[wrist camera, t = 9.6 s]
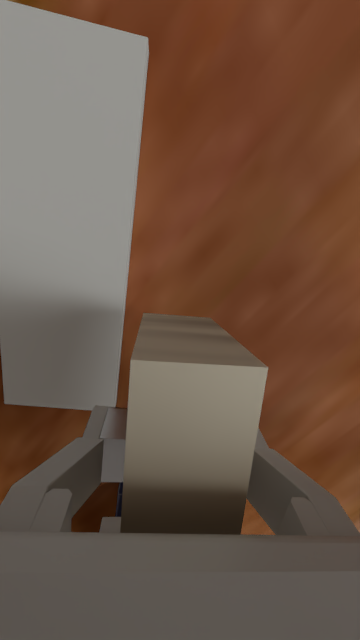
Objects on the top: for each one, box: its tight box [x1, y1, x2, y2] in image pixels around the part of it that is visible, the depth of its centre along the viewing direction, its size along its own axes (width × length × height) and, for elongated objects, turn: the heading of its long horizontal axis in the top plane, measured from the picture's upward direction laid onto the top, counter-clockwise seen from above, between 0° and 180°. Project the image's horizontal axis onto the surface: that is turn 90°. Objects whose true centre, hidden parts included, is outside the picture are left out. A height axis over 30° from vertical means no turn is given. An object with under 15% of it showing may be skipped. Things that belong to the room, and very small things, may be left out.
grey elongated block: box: [99, 313, 268, 535], centre depth 10 cm, size 17×5×6 cm, turn 174°
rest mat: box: [0, 0, 149, 410], centre depth 14 cm, size 20×7×1 cm, turn 171°
